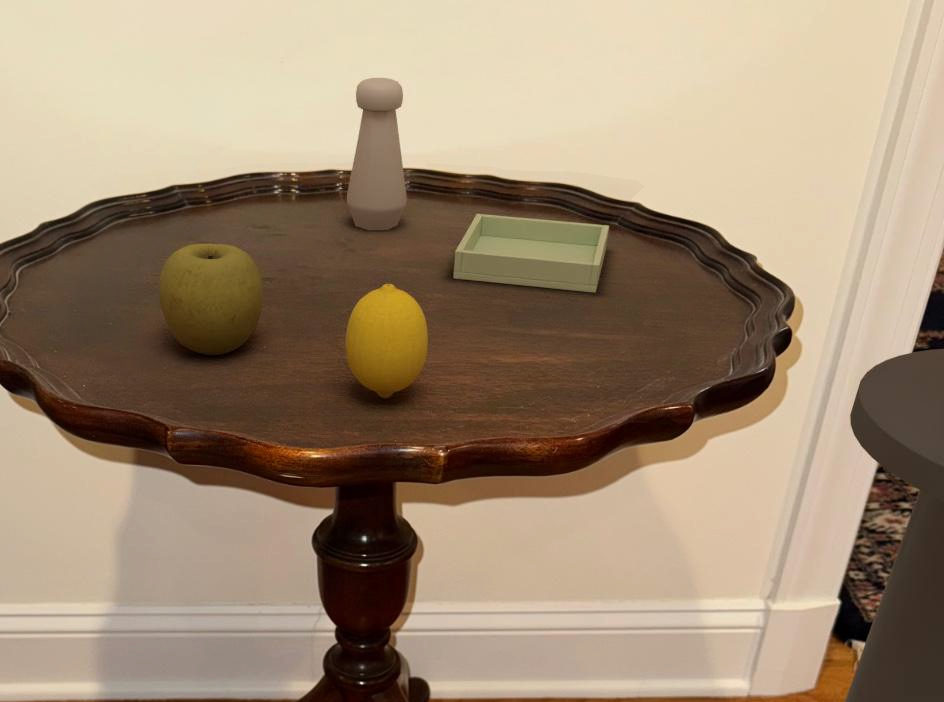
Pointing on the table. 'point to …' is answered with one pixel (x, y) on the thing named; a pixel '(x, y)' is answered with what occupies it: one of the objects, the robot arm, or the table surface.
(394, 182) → the salt shaker
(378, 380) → the lemon
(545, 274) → the dish
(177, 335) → the apple
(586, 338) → the table surface
